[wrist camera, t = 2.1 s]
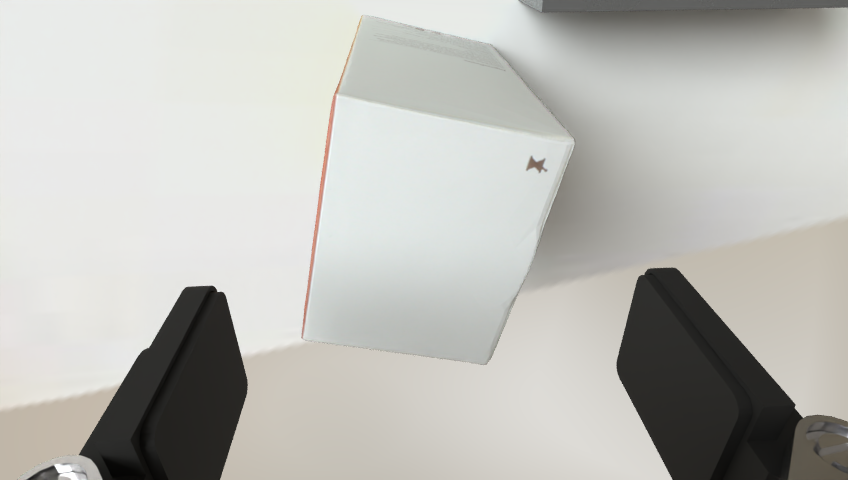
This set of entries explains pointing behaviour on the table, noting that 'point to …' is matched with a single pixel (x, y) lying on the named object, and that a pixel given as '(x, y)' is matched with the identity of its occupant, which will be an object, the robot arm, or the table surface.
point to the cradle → (675, 4)
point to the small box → (429, 195)
